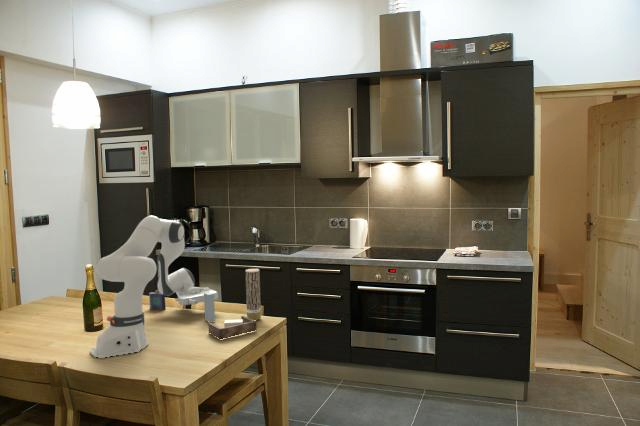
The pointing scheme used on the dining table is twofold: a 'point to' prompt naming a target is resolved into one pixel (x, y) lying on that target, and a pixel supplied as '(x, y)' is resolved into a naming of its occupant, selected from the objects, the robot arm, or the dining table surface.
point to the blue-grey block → (209, 306)
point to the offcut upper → (232, 322)
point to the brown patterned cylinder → (253, 294)
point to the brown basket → (233, 328)
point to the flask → (157, 301)
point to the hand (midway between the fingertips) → (204, 300)
